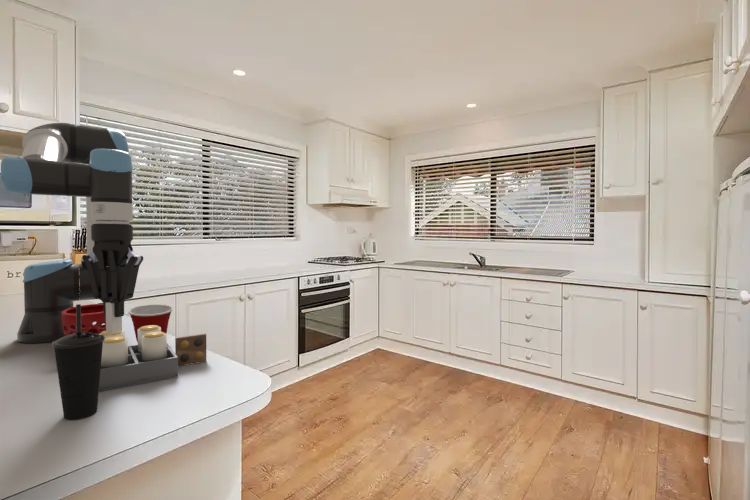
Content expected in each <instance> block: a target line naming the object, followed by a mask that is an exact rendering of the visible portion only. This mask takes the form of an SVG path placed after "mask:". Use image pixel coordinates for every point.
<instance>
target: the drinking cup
mask: <svg viewBox="0 0 750 500" xmlns="http://www.w3.org/2000/svg"><path fill="white" fill-rule="evenodd" d="M81 306H82V304H76V305H75V307H76V325H77V333H72V334H69V335H66V336H64V337H62V338H60V339H58V340H55V341H52V343H51V347H52V348H53V349H54V355H55V364H56V370H57V377H58V384H59V391H60V398H61V407H62V412H63V419H65V420H67V421H75V420H83V419H85V418H89V417H92V416H93V415H95V414H96V413H97V412H98V403H99V394H100V393H99V382H100V370H101V359H102V347H103V341H104V340H105V337H104V336H103V335H99V334H96V333H91V332H81Z"/></svg>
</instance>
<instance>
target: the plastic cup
mask: <svg viewBox="0 0 750 500" xmlns="http://www.w3.org/2000/svg"><path fill="white" fill-rule="evenodd" d="M173 310H174V307H173V306H172V305H169V304H160V303H159V304H157V303H156V304H144V305H138V306H134V307H132V308H129V309H128V310H127V312H128V314H129V316H130V318H131V321H132V324H133V330H134V334H135V339H136V342H137V344H138V329H139V328H140V327H143V326H148V325H157V326H159V327H161V332H164V333H166V334H167V333H168V327H169V321H170V318H171V315H172V312H173ZM167 335H168V334H167Z"/></svg>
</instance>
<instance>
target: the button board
mask: <svg viewBox="0 0 750 500" xmlns="http://www.w3.org/2000/svg"><path fill="white" fill-rule="evenodd" d="M172 378H179V366H178V357H177V355H176V354H175V350H173V349H172V348H171V346H170V345H169V344H168V343H167V356H166V357H165V358H162V359H159V360H151V361H147V360H143V359H142V352H140V351H138V344H135V345H128V363H126V364H124V365H121V366H116V367H102V366H101V370H100V382H99V391H100V392H104V391H110V390H114V389H120V388H124V387H130V386H135V385H143V384H146V383H151V382H159V381H161V380H167V379H172Z"/></svg>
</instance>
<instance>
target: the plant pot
mask: <svg viewBox="0 0 750 500" xmlns="http://www.w3.org/2000/svg"><path fill="white" fill-rule="evenodd" d="M103 312H104V311H103V303H93V304H92V303H91V304H84V305H83V304H81V332H91V333H96V334H100V333H101V332H103V331H106V317H104V315H103ZM94 323H95V324H94ZM62 325H63V331H64V334H65V336H66V335H69V334H72V333H77V325H76V306H73V307H72V308H68V309H66V310H64V311H62Z"/></svg>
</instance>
